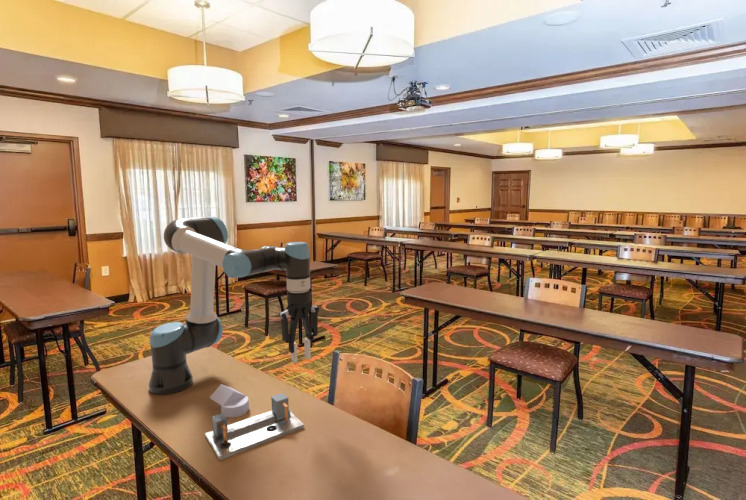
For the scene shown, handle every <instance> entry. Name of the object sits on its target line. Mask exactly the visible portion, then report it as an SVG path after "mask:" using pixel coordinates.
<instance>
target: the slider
mask: <svg viewBox="0 0 746 500" xmlns="http://www.w3.org/2000/svg"><path fill="white" fill-rule="evenodd" d="M270 398H271V399H270V400H271V411H272V414H273V413H274V414H275V415H276V420H277V421H278V420H280V419H283V418H285V422H287V421H288V417H289V410H290V409H289V397H288V396H287V395H286V394H285V393H283V392H282V393H279V394H275V395H271V397H270Z"/></svg>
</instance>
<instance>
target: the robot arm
mask: <svg viewBox="0 0 746 500" xmlns="http://www.w3.org/2000/svg"><path fill="white" fill-rule="evenodd" d="M228 233H229V232H228V229H227V227H226V225H225V223H224V222H223V220H222V219H220V218H219V217H216V216H206V215H205V216H198V217H197V216H196V217H182V218H177V219H174V220H172V221H171V222H170V223H168V224H167V225H166V226H165V229H164V231H163V241H164V243H165V245H166V246H167V248H169V249H170V250H172V251H174V252H175V253H178V254H181V255H183V254H184V255H185V254H188V255H190V256H191V278H190V281H191V282H190V285H191V286H190V307H189V308H190V309H189V310H190V311H189V313H188V314H186V316H185V323H182V322H181V321H172V322H168V323H164V324H161V325H159V326H157V327H155V328H154V329H153V330H152V331H151V333H150V336H149V346H150V353H151V354H150V355H151V364H152V371H151V375H150V378H149V381H148V382H149V383H148V390H149V392H150V393H151V394H154V395H169V394H175V393H178V392H181V391H184V390H185V389H187V388H189V387H190V386H192V384H193V383H194V381H193V380H194V379H193V378H194V376H193V373H192V372H191V369H190V367H189V365H188V362H187V355H188V354H192V353H194V352H196V351H199V350H203V349H205V348H210V347H211V346H213V345H215V344H217V343H218V342H220V340H221V339H222V336H223V331H224V330H223V329H224V327H223V325H222V320H221V319H220V318H219V317H218V315H217V313H215V311H214V305H215V285H216V284H215V283H216V269H217V268H216V266H218V267H219V268H222V269H223V272H224V273H225V274H226V276H227V277H228V278H230V279H235V278H245V277H247V276H252V275H256V274H261V273H262V274H263V273H266V272H270V271H275V270H276V271H284V272H285V275H286V291H287V292H286V293H287V294H286V298H287V299H286V300H287V301H286V302H287V306H286V310H284V311H280V312H279V313H278V315H279V317H280V322H281V323H280V324H281V335H282V336H281V337H282V342H284V343H286V344H288V352H289V353H291V356H290V357H291V362H293V363H294V364H296V363H297V364H298V346H297V345H298V343H297V342H295V340H296V335H297V328H298V323H299V320H302V323H303V329H304V332H305V333H304V334H305V337H304V338H303V341H304V345H303V346H304V358H306V359H308V360H311V349H313V340H314V339H315V337H317V336H318V333H319V331H318V325H319V324H318V323H319V321H318V317H319V312H320V307H319V306H318V305H317V306H316V305H313V304H312V303H311V301H312V296H311V295H312V294H311V290H310V289H311V265H310V264H311V261H310V260H311V254H310V245H309V244H308V243H307V242H305V241H289V242H287V243H286V244H285V245H284V247H282V246H275V245H264V246H262V247H261V248H258V249H251V250H250V249H249V250H244V249H242V248H239V247H235V246H234V245H231V244H228V243H227V242H228V239H229V234H228ZM309 314H310V317H309ZM289 315H290V318H289ZM288 318H289V320H290V323H289V320H288Z"/></svg>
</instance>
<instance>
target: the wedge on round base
mask: <svg viewBox="0 0 746 500" xmlns="http://www.w3.org/2000/svg"><path fill="white" fill-rule="evenodd" d="M209 399H210V400H212V401H213V402H215V403H217V404H218V405H220V414H222V413H223V414H224V416H225V417H226V418H236V417H240V416H243V415H244V414H246V413H247V412H248V411H249V409H250V405H249V404H250V403H249V397H248V396H247V395H246V394H244V393H243V392H241V391H238V390H236V389H235V388H234V387H230V386H228V385H226V384H225V385H224V384H222V383H221V384H219V386H218V387H217V388H216V390H215V391H213V393H212V394H211V395H210V396H209Z"/></svg>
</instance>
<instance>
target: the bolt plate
mask: <svg viewBox="0 0 746 500" xmlns="http://www.w3.org/2000/svg"><path fill="white" fill-rule="evenodd" d="M211 418H212V430H210V431H208V432H207V431H206V432H205V433H204V436H205V439H206V440H207V442H208V444H209V446H210V447H211V448H212V451H213V453H214V454H215V456H216V457H217V459H218V460H219V461H222V460H225V459H227V458H230V457H232V456H235V455H238V454H240V453H243V452H245V451H248V450H251V449H253V448H255V447H258V446H260V445H263V444H264V445H265V444H266V443H268V442H272V441H274V440H276V439H278V438H282V437H284V436H287V435H290V434H292V433H294V432H297V431H300V430H303V429H305V424H304V423H303V422H302V421H301V420H300V419H299V418H298V417H297V416H296V415H295V414H294V413H293V412H292V411H291V410H290V409H289V417H288V421H287V422H285V418H283V419H280V420H278V421H277V420H276V415H275V414H274V413H273V414H272V410H269V411H266V412H263V413H260V414H258V415H254V416H251V417H249V418H245V419H243V420H240V421H237V422H234V423H231V424H228V419H227V417H225V416H224V414H223V413H222V414H221V413H218V414H216V415H213V416H212V417H211Z"/></svg>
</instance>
